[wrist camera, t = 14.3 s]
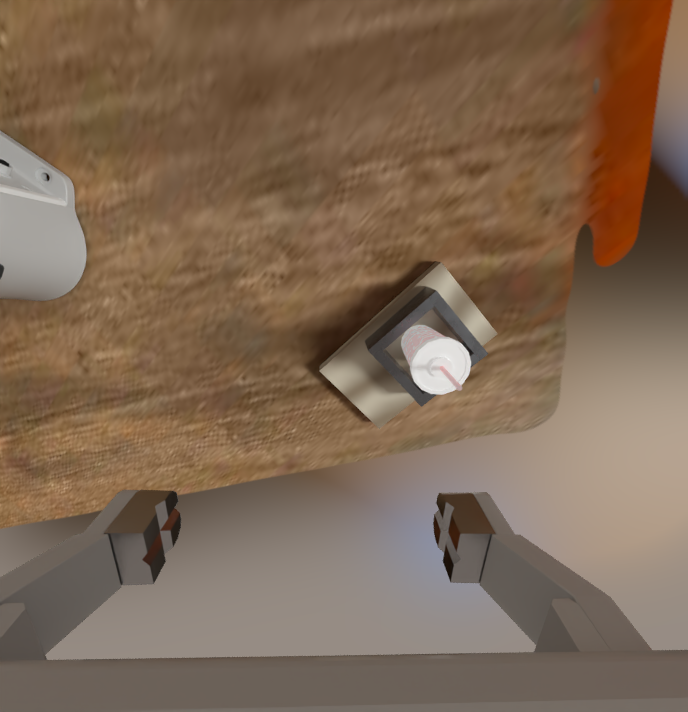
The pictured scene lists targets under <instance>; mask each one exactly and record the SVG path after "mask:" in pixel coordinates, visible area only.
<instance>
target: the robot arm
mask: <svg viewBox="0 0 688 712" xmlns="http://www.w3.org/2000/svg"><path fill="white" fill-rule="evenodd" d="M47 175H49V177H50V180H49V181H48V180H47ZM85 264H86V244H85V239H84V235H83V232H82V229H81V226H80V224H79V221H78V219H77V216H76V213H75V196H74V187H73V184H72V181H71V180H70V178H69V177H68V176H66V175H65V174H64V173H62V172H61V171H59V170H58V169H56V168H55V167H53V166H52V165H50V164H49V163H47V162H46V161H44V160H43V159H41V158H40V157H39V156H37V155H36V154H34V153H33V152H31V151H30V150H28V149H27V148H25V147H24V146H22V145H21V144H19V143H18V142H16V141H15V140H13V139H12V138H10V137H9V136H7V135H6V134H4V133H3V132H1V131H0V299H22V300H32V301H46V300H52V299H55V298H58V297H61V296H63V295H65V294H66V293H68V292H69V291H70V290H72V289H73V288H74V287H75V285H76V284H77V283H78V282H79V280H80V278H81V276H82V274H83V271H84V268H85ZM177 503H178V497H177V493H176V492H174V491H160V490H122V491H120V492H119V493H117V495H116V496H115V497H114V498H113V499H112V500H111V501H110V503H109V504H108V505H107V506H106V507H105V508H104V510H103V511H102V512H101V513H100V514H99V515H98V516H97V518H96V519H95V520H94V521H93V522H92V523H91V524H90V526H89V527H88V528H87V529H86V530H85V531H84V532H83V534H76V535H74V536H72V537H70V538H69V539H67V540H66V541H63V542H62V543H60V544H58V545H56V546H55V547H53V548H51V549H49V550H48V551H46V552H44V553H42V554H41V555H39V556H37V557H35V558H33V559H32V560H30V561H28V562H26V563H25V564H23V565H21V566H20V567H18V568H16V569H14V570H12V571H11V572H9V573H7V574H5V575H3V576H2V577H0V712H688V650H652V649H651V648H650V647H649V645H648V644H647V643H646V642H645V640H644V639H643V638H642V636H641V635H640V634H639V633H638V631H637V630H636V629H635V628H634V626H633V625H632V624H631V623H630V621H629V620H628V619H627V617H626V616H625V615H624V614H623V612H622V611H621V610H620V609H619V607H618V606H617V605H616V604H615V602H614V601H613V600H612V599H611V597H609V596H608V595H607V594H605V593H604V592H602V591H601V590H599V589H598V588H596V587H595V586H594V585H592V584H591V583H589V582H588V581H586V580H585V579H583V578H582V577H581V576H579V575H577V574H576V573H575V572H573V571H572V570H570V569H569V568H568V567H566V566H564V565H563V564H562V563H560V562H559V561H557V560H556V559H554V558H553V557H552V556H550V555H549V554H547V553H546V552H544V551H543V550H541V549H540V548H539V547H537V546H535V545H534V544H532V543H531V542H530V541H528V540H527V539H525V538H524V537H523V536H521V535H515V534H514V532H513V531H512V529H511V527H510V526H509V524H508V523H507V521H506V520H505V518H504V517H503V515H502V513H501V512H500V510H499V509H498V507H497V506H496V504H495V503H494V501H493V500H492V498H491V496H490V495H489V494H488V493H486V492H473V493H439V495H438V497H437V506H438V508H439V510H438V511H437V512H436V513H435V514H434V522H433V525H434V535H435V539H436V543H437V545H438V548H440V549H441V550H442V551H443V552H444V557H443V563H444V565H445V568H446V571H447V574H448V576H449V579H450V582H453V583H455V582H456V583H480V586H481V587H482V588H483V589H484V590H485V591H486V592H487V593H488V594H489V595H490V596H491V597H492V598H493V600H494V601H495V602H496V603H497V604H498V605H499V606H500V607H501V608H502V609H503V610H504V611H505V612H506V613H507V614H508V615H509V617H510V618H511V619H512V620H513V621H514V622H515V623H516V624H517V625H518V626H519V627H520V628H521V629H522V631H524V633H525V634H526V635H528V637H529V638H530V639H531V640H532V641H533V642H534V643H535V644H536V648H535V651H534V652H524V653H459V654H402V655H349V656H348V655H347V656H345V655H344V656H283V657H282V656H279V657H212V658H211V657H210V658H150V659H149V658H148V659H147V658H146V659H86V660H85V659H84V660H47V659H46V656H45V654H46V653H47V652H49V651H50V650H51V649H52V648H53V647H54V646H55V645H56V644H58V643H59V642H60V641H61V640H62V639H63V638H64V637H66V636H67V635H68V634H69V633H70V632H71V631H72V630H73V629H75V628H76V627H77V626H78V625H79V624H80V623H81V622H83V620H85V619H86V618H87V617H88V616H89V615H90V614H92V613H93V612H94V611H95V610H96V609H97V608H98V607H99V606H101V605H102V604H103V603H104V602H105V601H106V600H107V599H108V598H110V597H111V596H112V595H113V594H114V593H115V592H116V591H117V590H119V589H120V588H121V585H139V584H140V585H142V584H154V582H155V581H156V579H157V577H158V575H159V573H160V571H161V569H162V567H163V566H164V564H165V562H166V561H165V556H164V554H165V553H166V552H168V551H169V550H170V549H172V548H173V547H174V545H175V543H176V541H177V539H178V535H179V532H180V528H181V516H180V512H179V511H177V510H176V509H175V506H176V504H177Z"/></svg>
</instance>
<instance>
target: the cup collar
mask: <svg viewBox="0 0 688 712" xmlns="http://www.w3.org/2000/svg"><path fill="white" fill-rule="evenodd" d="M431 309H433V311H434V312H435V313H436V314H437V315H438V317H439V318H440V319H441V320H442V321H443V323H444V324H445V325H446V326H447V327H448V329H449V330H450V331H451V332H452V333H453V335H454V336H455V337H456V338H457V339H458V340H459V342H460V343H461V344H462V345H463V346H464V347H465V348H466V350H467V351H468V352H469V355H470V360H471V367H472V366H473V365H475V364H476V363H477V362H478V361H480V360H481V359H482V358H483V357H485V356H486V355H487V354H488V353H487V352H486V350H485V349H484V348H483V347H482V346H481V344H480V343H479V342H478V341H477V339H476V338H475V337H474V336H473V335H472V333H471V332H470V331H469V330H468V328H467V327H466V326H465V325H464V324H463V322H462V321H461V320H460V319H459V317H458V316H457V315H456V314H455V312H454V311H453V310H452V309H451V308H450V306H449V305H448V304H447V303H446V301H445V300H444V299H443V298H442V297H441V295H440V294H439V293H438V292H437V291H436V290H434V289H432V288H430V287H427V286H426V287H425V288H424V289H423V290H422V291H420V292H419V293H418V294H417V295H416V296H415V297H414V298H412V299H411V300H410V301H409V302H408V303H407V304H406V305H405V306H403V307H402V308H401V309H400V310H399V311H398V312H397V313H396V314H394V315H393V316H392V317H391V318H390V319H389V320H388V321H386V322H385V323H384V324H383V325H382V326H381V327H380V328H379V329H377V330H376V331H375V332H374V333H373V334H372V335H371V336H369V337H368V338H367V339H366V340H365V344H366V346H367V349H368V351H369V352H370V353H371V354H372V355H373V356H374V358H375V359H376V360H377V361H378V362H379V363H380V364H381V365H382V366H383V367H384V368H385V369H386V370H387V371H388V372H389V373H390V374H391V375H392V376H393V377H394V378H395V380H396V381H397V382H398V383H399V384H400V385H401V386H402V387H403V388H404V389H405V390H406V391H407V392H408V393H409V394H410V395H411V396H412V397H413V398H414V399H415V400H416V402H417V403H418V404H419V405H420V406H421V407H422V406H423V405H424V404H426V403H427V402H428V401H429V400H431V399H432V398H433V397H434V396H436V395H437V394H430V393H428V392H426V391H423V390H421V389H420V388H419V386H418V385H417V384H416V383H415V382H414V380H413V378H412V377H411V376H410V375H409V374H408V373H407V372H406V371H405V370H404V369H403V368H402V367H401V365H400V364H399V363H398V362H397V361H396V360H395V359H394V358H393V357H392V356H391V355H390V354H389V353H388V352H387V350H386V349H385V348H387V347H388V346H389V345H390V344H391V343H392V342H394V341H395V340H396V339H397V338H398V337H399V336H401V335H402V334H403V333H404V332H405V331H406V330H407V329H409V328H410V327H411V326H412V325H413V324H414V323H416V322H417V321H418V320H419V319H420V318H421V317H423V316H424V315H425V314H426V313H427V312H428V311H429V310H431ZM471 367H470V368H471Z"/></svg>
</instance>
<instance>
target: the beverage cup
mask: <svg viewBox="0 0 688 712" xmlns="http://www.w3.org/2000/svg"><path fill="white" fill-rule="evenodd" d="M401 346H402V350H403V352H404V355H405V357H406V359H407V361H408V363H409V366H410V371H411V375H412V378H413V380H414V382H415V383H416V384H417V385H418V386H419V388H420V389H421V390H423V391H426V392H428V393H430V394H445V393H448V392H451V391H454V390H455V389H457V390H459V391H460V390H462V386H461V385H462V384H463V383H464V381H465V380H466V378H467V377H468V375H469V372H470V367H471V360H470V355H469V352H468V351H467V350H466V348H465V347H464V346H463V345H462V344H461V343H460V342H458V341H456V340H454V339H452V338H450V337H445V336H443V335H442V334H440V333H438V332H437V331H435V330H433V329H432V328H430V327H428V326H425V325H416V326H413V327H410V328H409V329H408V330H407V331H406V332H405V333H404V335H403V337H402V341H401Z"/></svg>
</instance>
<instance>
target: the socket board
mask: <svg viewBox="0 0 688 712" xmlns="http://www.w3.org/2000/svg"><path fill="white" fill-rule="evenodd" d="M426 286H427V287H430V288H432V289H434V290H436V291H437V292H438V293H439V294H440V295H441V297H442V298H443V299H444V300H445V301H446V303H447V304H448V305H449V306H450V308H451V309H452V310H453V311H454V312H455V314H456V315H457V316H458V317H459V319H460V320H461V321H462V322H463V324H464V325H465V326H466V327H467V328H468V330H469V331H470V332H471V333H472V335H473V336H474V337H475V338H476V339H477V341H478V342H479V343H480V344H481V346H483V345H484V344H486V343H487V342H488V341H489V340H491V339H492V338H493V337H494V336H496V335H497V333H496V331H495V330H494V329H493V327H492V326H491V325H490V324H489V322H488V321H487V320H486V319H485V317H484V316H483V315H482V313H481V312H480V311H479V310H478V308H477V307H476V306H475V305H474V303H473V302H472V301H471V299H470V298H469V297H468V296H467V294H466V293H465V292H464V291H463V289H462V288H461V287H460V285H459V284H458V283H457V282H456V280H455V279H454V278H453V277H452V275H451V274H450V273H449V272H448V270H447V269H446V268H445V266H444V265H443V264H442V263H441V262H437V261H436V262H435V263H434V264H433V265H431V266H430V267H429V268H428V269H427V270H426V271H425V272H424V273H423V274H421V275H420V276H419V277H418V278H417V279H416V280H415V281H414V282H413V283H411V284H410V285H409V286H408V287H407V288H406V289H405V290H404V291H402V292H401V293H400V294H399V295H398V296H397V297H396V298H395V299H394V300H392V301H391V302H390V303H389V304H388V305H387V306H386V307H385V308H384V309H382V310H381V311H380V312H379V313H378V314H377V315H376V316H375V317H373V318H372V319H371V320H370V321H369V322H368V323H367V324H366V325H365V326H363V327H362V328H361V329H360V330H359V331H358V332H357V333H356V334H355V335H353V336H352V337H351V338H350V339H349V340H348V341H347V342H346V343H344V344H343V345H342V346H341V347H340V348H339V349H338V350H337V351H336V352H334V353H333V354H332V355H331V356H330V357H329V358H328V359H327V360H326V361H324V362H323V363H322V364H321V365H320V370H319V371H320V372H321V373H322V374H323V375H324V376H325V377H326V378H327V379H328V380H329V381H330V382H331V383H332V384H333V385H334V386H335V387H337V388H338V389H339V390H340V391H341V392H342V393H343V394H344V395H345V396H346V397H347V398H348V399H349V400H350V401H351V402H352V403H353V404H354V405H355V406H356V407H357V408H358V409H359V410H360V411H361V412H362V413H363V414H364V415H366V416H367V417H368V418H369V419H370V420H371V421H372V422H373V423H374V424H375V425H376V426H377V427H378V428H379V429H380V428H381V427H382V426H383V425H385V424H386V423H387V422H388V421H390V420H391V419H392V418H393V417H395V416H396V415H397V414H398V413H400V412H401V411H402V410H403V409H405V408H406V407H407V406H408V405H410V404H411V403H412V402H413V401H415V399H414V398H413V397H412V396H411V395H410V394H409V393H408V392H407V391H406V390H405V389H404V388H403V387H402V386H401V385H400V384H399V383H398V382H397V381H396V380H395V378H394V377H393V376H392V375H391V374H390V373H389V372H388V371H387V370H386V369H385V368H384V367H383V366H382V365H381V364H380V363H379V362H378V361H377V360H376V359H375V358H374V356H373V355H372V354H371V353H370V352H369V351H368V349H367V346H366V344H365V340H366V339H367V338H368V337H369V336H371V335H372V334H373V333H374V332H375V331H376V330H377V329H379V328H380V327H381V326H382V325H383V324H384V323H385V322H386V321H388V320H389V319H390V318H391V317H392V316H393V315H394V314H396V313H397V312H398V311H399V310H400V309H401V308H402V307H403V306H405V305H406V304H407V303H408V302H409V301H410V300H411V299H412V298H414V297H415V296H416V295H417V294H418V293H419V292H420V291H422V290H423V289H424V288H425V287H426ZM416 325H425V326H428V327H430V328H432V329H433V330H435V331H437V332H438V333H440V334H442V335H443V336H445V337H450V338H452V339H454V340H456V341H458V342H459V340H458V339H457V338H456V337H455V336H454V335H453V333H452V332H451V331H450V330H449V329H448V327H447V326H446V325H445V324H444V323H443V321H442V320H441V319H440V318H439V317H438V315H437V314H436V313H435V312H434V311H433V309H431V310H429V311H428V312H427V313H426V314H425V315H424V316H423V317H421V318H420V319H419V320H418V321H417V322H416V323H414V324H413V325H412V326H411V327H413V326H416ZM407 330H408V329H407ZM407 330H406V331H407ZM406 331H405V332H406ZM405 332H404V333H405ZM404 333H403V334H402V335H401V336H399V337H398V338H397V339H396V340H395V341H394V342H392V343H391V344H390V345H389V346H388V347H387V348H385V349H386V350H387V352H388V353H389V354H390V355H391V356H392V357H393V358H394V359H395V360H396V361H397V362H398V363H399V364H400V365H401V367H402V368H403V369H404V370H405V371H406V372H407V373H408V374H409V375H410V376H411V377H412V375H411V371H410V366H409V363H408V361H407V359H406V357H405V355H404V352H403V350H402V346H401V341H402V337H403V335H404Z"/></svg>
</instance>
